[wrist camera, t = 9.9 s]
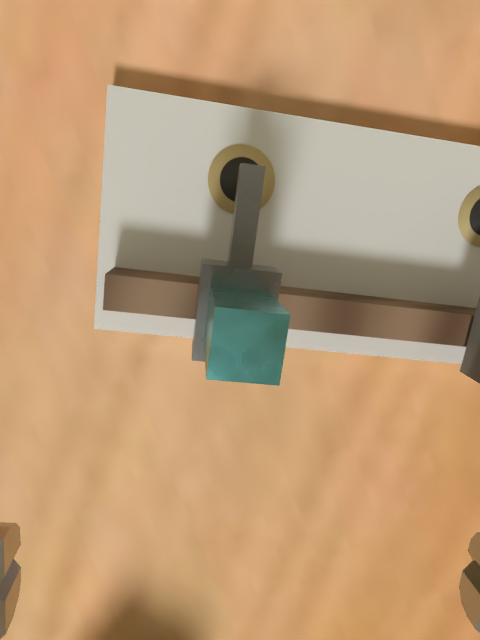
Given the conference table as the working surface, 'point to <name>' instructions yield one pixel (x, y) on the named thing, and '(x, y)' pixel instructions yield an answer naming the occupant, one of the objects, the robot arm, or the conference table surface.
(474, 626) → the robot arm
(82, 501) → the conference table surface
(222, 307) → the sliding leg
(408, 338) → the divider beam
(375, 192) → the bolt plate
